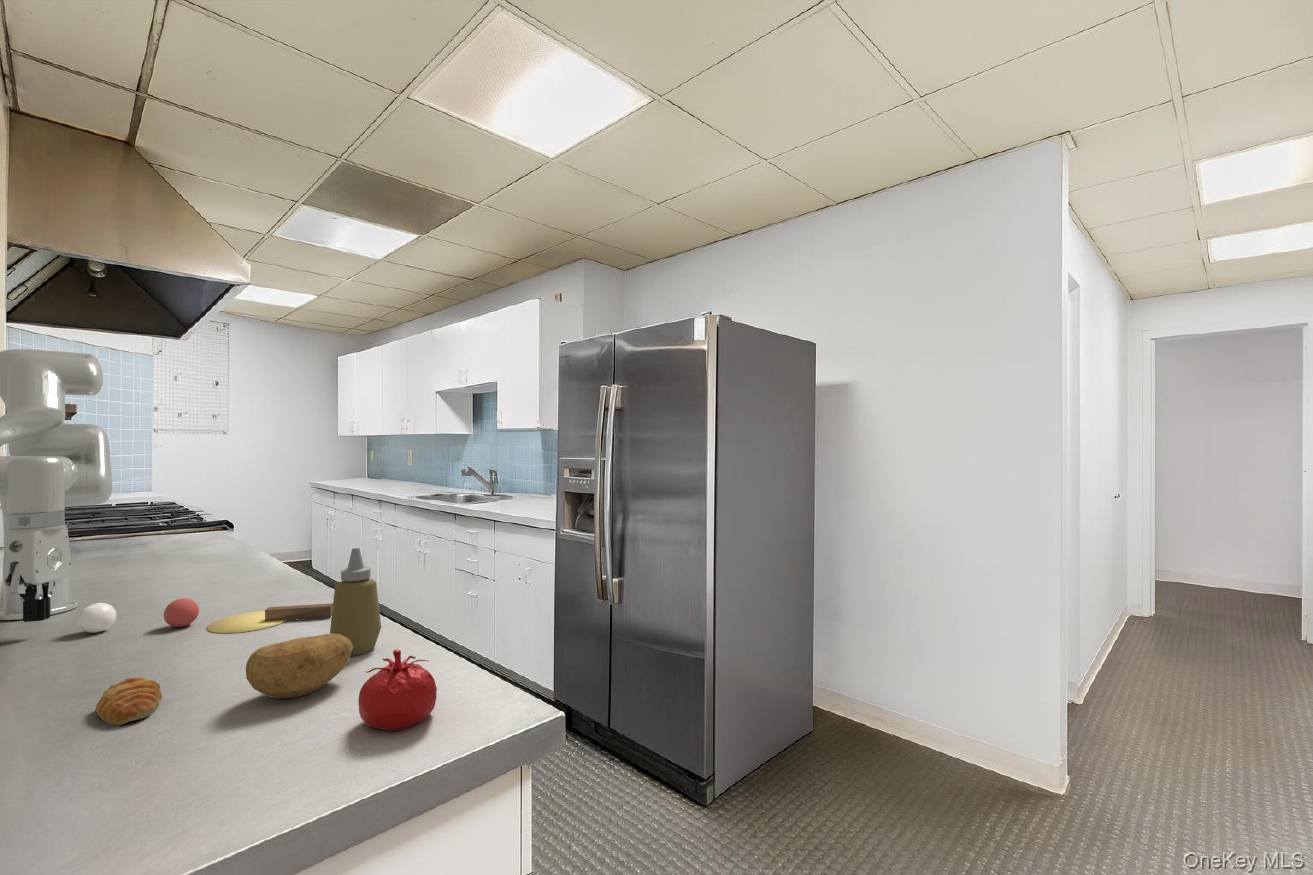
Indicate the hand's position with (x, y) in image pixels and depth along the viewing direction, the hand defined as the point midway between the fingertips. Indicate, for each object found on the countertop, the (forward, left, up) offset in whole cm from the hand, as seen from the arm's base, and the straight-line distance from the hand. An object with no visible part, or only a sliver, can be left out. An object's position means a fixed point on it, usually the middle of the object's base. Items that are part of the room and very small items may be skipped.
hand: (36, 619), depth 111 cm
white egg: (+6, +7, -1) cm, 9 cm away
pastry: (+53, -2, -4) cm, 53 cm away
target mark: (+24, +25, -3) cm, 35 cm away
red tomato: (+87, +15, -4) cm, 88 cm away
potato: (+67, +13, -4) cm, 68 cm away
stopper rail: (+30, +32, -3) cm, 44 cm away
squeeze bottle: (+58, +27, -4) cm, 64 cm away
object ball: (+16, +17, -1) cm, 23 cm away
